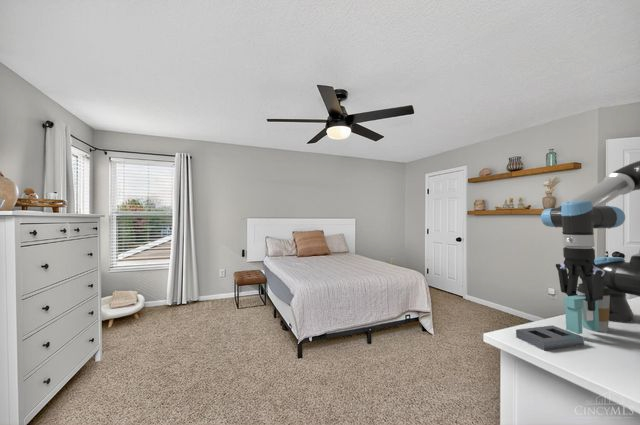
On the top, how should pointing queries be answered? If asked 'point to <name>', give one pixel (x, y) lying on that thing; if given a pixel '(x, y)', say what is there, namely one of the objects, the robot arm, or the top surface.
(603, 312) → the coffee cup
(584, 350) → the top surface
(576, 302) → the teal u-shaped block
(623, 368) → the top surface
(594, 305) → the robot arm
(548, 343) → the grey slotted slab
